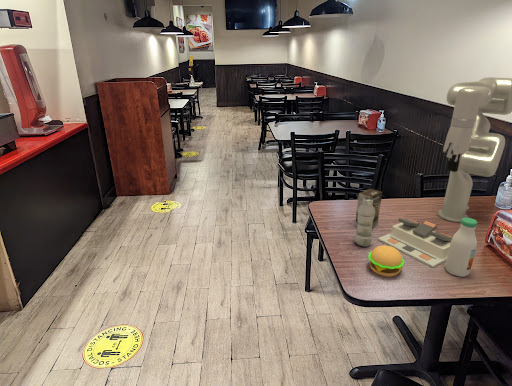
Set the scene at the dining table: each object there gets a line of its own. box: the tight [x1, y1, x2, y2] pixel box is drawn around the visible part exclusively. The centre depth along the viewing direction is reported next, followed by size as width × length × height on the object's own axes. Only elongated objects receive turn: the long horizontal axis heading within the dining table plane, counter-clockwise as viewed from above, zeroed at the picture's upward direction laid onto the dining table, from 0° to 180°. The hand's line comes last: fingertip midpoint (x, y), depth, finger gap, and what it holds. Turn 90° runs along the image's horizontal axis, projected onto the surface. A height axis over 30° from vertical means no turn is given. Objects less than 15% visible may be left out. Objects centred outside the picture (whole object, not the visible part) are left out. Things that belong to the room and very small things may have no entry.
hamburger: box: [367, 244, 405, 278], centre depth 121 cm, size 12×12×9 cm
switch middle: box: [413, 220, 438, 238], centre depth 136 cm, size 8×5×1 cm, turn 123°
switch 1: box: [397, 217, 421, 226], centre depth 142 cm, size 8×5×1 cm, turn 123°
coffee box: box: [354, 188, 383, 229], centre depth 151 cm, size 9×6×16 cm
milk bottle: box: [444, 217, 478, 278], centre depth 118 cm, size 8×8×20 cm
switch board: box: [377, 222, 451, 269], centre depth 136 cm, size 17×24×5 cm
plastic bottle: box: [354, 197, 375, 247], centre depth 135 cm, size 6×7×20 cm
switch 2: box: [430, 231, 453, 241], centre depth 131 cm, size 8×5×1 cm, turn 123°
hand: (452, 170), depth 133 cm, fingers closed
